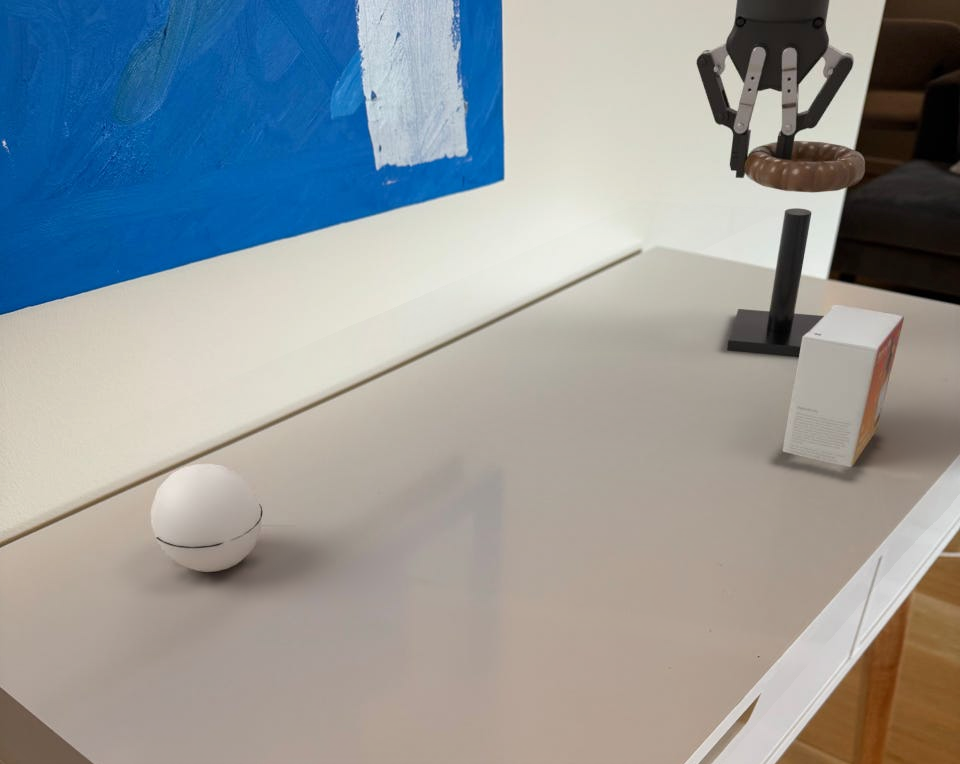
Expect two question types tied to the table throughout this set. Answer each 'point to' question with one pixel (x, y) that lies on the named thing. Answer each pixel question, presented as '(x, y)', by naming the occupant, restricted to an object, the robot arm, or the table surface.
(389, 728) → the table surface
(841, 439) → the small box
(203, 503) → the seamed sphere
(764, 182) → the brown ribbed ring
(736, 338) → the stand
